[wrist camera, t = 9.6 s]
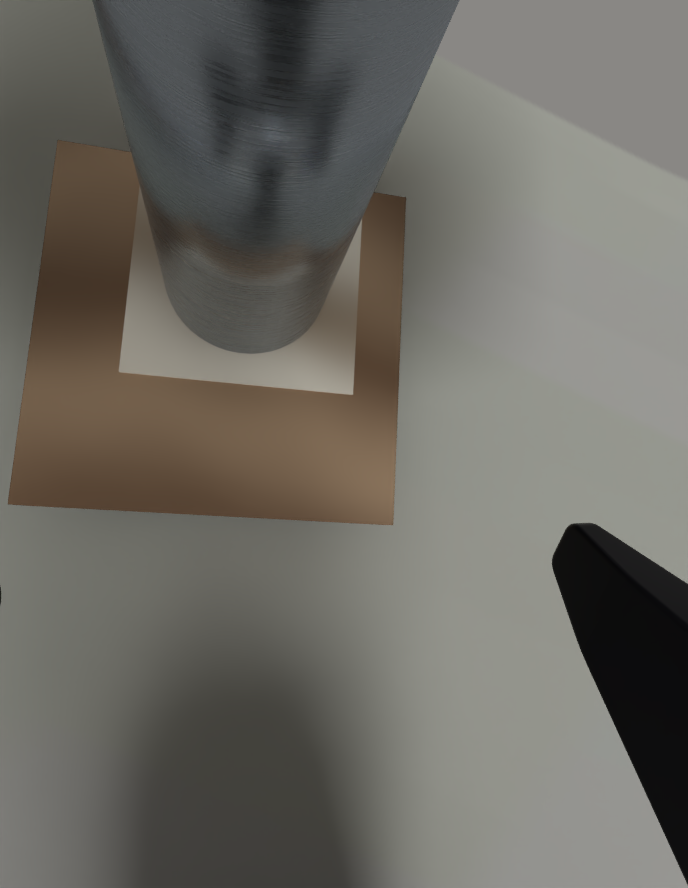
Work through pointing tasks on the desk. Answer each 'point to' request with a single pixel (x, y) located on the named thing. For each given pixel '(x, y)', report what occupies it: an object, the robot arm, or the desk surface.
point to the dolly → (201, 375)
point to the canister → (262, 143)
